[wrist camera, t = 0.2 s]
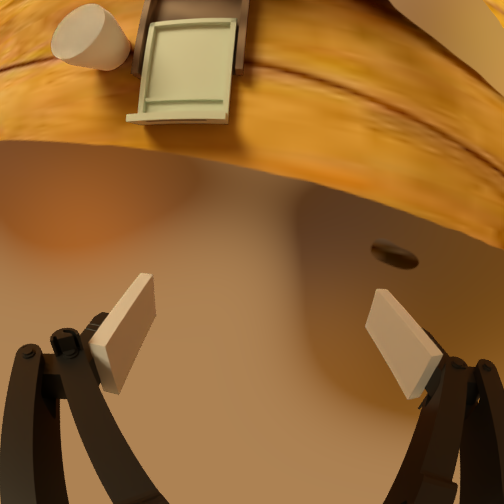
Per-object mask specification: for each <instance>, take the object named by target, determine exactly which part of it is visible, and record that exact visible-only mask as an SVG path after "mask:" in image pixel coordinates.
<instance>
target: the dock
mask: <svg viewBox="0 0 504 504" xmlns="http://www.w3.org/2000/svg"><path fill="white" fill-rule="evenodd" d="M249 3H250V0H145V2H144V6H143V10H142V15H141V19H140V24H139V28H138V33H137V38H136V44H135V49H134V55H133V62H132V68H131V74H132V75H134V76H135V77H137V78H141V76H142V69H143V62H144V55H145V49H146V43H147V37H148V32H149V27H150V23H153V22H161V21H170V20H181V19H196V18H237V30H236V40H235V50H234V60H233V71H232V75H243V67H244V55H245V44H246V33H247V23H248V13H249Z"/></svg>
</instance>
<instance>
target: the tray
mask: <svg viewBox="0 0 504 504" xmlns="http://www.w3.org/2000/svg"><path fill="white" fill-rule="evenodd" d="M236 30H237V18H196V19H181V20H170V21H161V22H153V23H150V27H149V32H148V37H147V43H146V49H145V55H144V62H143V69H142V76H141V84H140V93H139V103H138V113H135V114H126V122H130V123H134V124H138V125H156V124H228V120H229V107H230V94H231V82H232V71H233V60H234V50H235V40H236Z"/></svg>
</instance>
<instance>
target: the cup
mask: <svg viewBox="0 0 504 504" xmlns="http://www.w3.org/2000/svg"><path fill="white" fill-rule="evenodd" d="M51 50H52V53H53V55H54V56H55V57H57V58H59V59H61V60H63V61H65V62H66V63H68V64H71V65H75V66H81V67H87V68H93V69H98V70H103V71H109V70H113V69H115V68H117V67H119V66H120V65H121V64H122V63H123V62H124V61H125V60H126V59H127V57H128V55H129V53H130V42H129V40H128V39H127V37H126V36H125V34H124V32H123V31H122V29H121V28H120V26H119V24H118V23H117V21H116V20H115V18H114V17H113V15H112V14H111V13H110V12H108V11H106V10H105V9H104V8H102V7H101V6H99V5H97V4H86V5H83V6H80V7H78V8H76V9H75V10H73V11H72V12H70V13H69V14H68V15H67V16H66V17H65V18H64V19H63V20H62V21H61V22H60V24H59V25H58V27H57V28H56V30H55V32H54V34H53V37H52V41H51Z"/></svg>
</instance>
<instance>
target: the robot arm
mask: <svg viewBox="0 0 504 504" xmlns="http://www.w3.org/2000/svg"><path fill="white" fill-rule="evenodd" d="M155 317H156V309H155V296H154V283H153V274H146V273H140V274H139V276H138V277H137V278H136V280H135V281H134V282H133V283H132V285H131V286H130V287H129V288H128V290H127V291H126V292H125V294H124V295H123V296H122V297H121V299H120V300H119V302H118V303H117V304H116V305H115V307H114V308H113V309H112V311H111V312H110V313H105V312H102V313H100V314H98V315H97V316H95V317H94V318H93V319H92V321H91V322H90V324H89V325H88V326H87V327H86V329H85V330H84V331H83V332H82V333H81V335H79V333H78V331H77V330H75V329H72V328H62V329H60V330H57V331H56V332H54V333H53V334H52V336H51V338H50V342H51V345H52V348H53V350H54V353H55V354H43V353H42V351H41V348H40V347H39V346H38V345H36V344H27V345H24V346H22V347H21V348H19V349H18V351H17V353H16V356H15V360H14V364H13V368H12V372H11V377H10V381H9V386H8V391H7V397H6V403H5V409H4V416H3V424H2V434H1V448H0V495H1V504H69V501H68V497H67V490H66V484H65V478H64V471H63V462H62V451H61V437H60V399H67V400H68V403H69V406H70V409H71V412H72V415H73V418H74V421H75V424H76V426H77V429H78V432H79V434H80V437H81V439H82V442H83V444H84V446H85V449H86V451H87V453H88V456H89V458H90V460H91V462H92V464H93V466H94V469H95V471H96V473H97V475H98V476H99V479H100V480H101V482H102V484H103V486H104V488H105V490H106V492H107V494H108V495H109V497H110V499H111V500H112V502H113V504H169V503H168V501H167V500H166V499H165V498H164V497H163V495H162V494H161V493H160V492H159V491H158V490H157V488H156V487H155V486H154V484H153V483H152V481H151V480H150V478H149V477H148V475H147V474H146V472H145V471H144V470H143V468H142V466H141V465H140V463H139V462H138V460H137V459H136V457H135V455H134V454H133V452H132V450H131V449H130V447H129V445H128V444H127V442H126V440H125V438H124V436H123V435H122V433H121V431H120V429H119V428H118V426H117V424H116V422H115V420H114V418H113V416H112V414H111V412H110V410H109V408H108V406H107V404H106V402H105V399H104V398H103V395H102V393H101V391H100V389H99V384H100V383H101V384H102V387H103V390H104V391H106V392H110V393H114V394H118V395H119V394H120V392H121V389H122V387H123V385H124V383H125V380H126V378H127V376H128V373H129V371H130V369H131V367H132V365H133V363H134V361H135V358H136V356H137V354H138V352H139V350H140V348H141V346H142V343H143V341H144V339H145V337H146V335H147V333H148V331H149V329H150V327H151V325H152V323H153V321H154V319H155ZM365 328H366V329H367V330H368V332H369V334H370V336H371V337H372V339H373V341H374V342H375V344H376V346H377V347H378V349H379V351H380V352H381V354H382V356H383V357H384V359H385V361H386V362H387V364H388V366H389V367H390V369H391V371H392V373H393V374H394V376H395V378H396V380H397V382H398V383H399V385H400V387H401V389H402V390H403V392H404V394H405V396H406V398H407V399H413V398H417V397H420V395H421V394H422V392H423V390H424V389H426V391H427V392H428V394H427V396H426V397H425V398H424V400H423V402H422V403H421V405H420V406H419V408H418V409H420V408H421V407H422V409H421V412H420V416H419V419H418V422H417V425H416V429H415V431H414V434H413V437H412V440H411V442H410V445H409V448H408V450H407V453H406V456H405V458H404V460H403V463H402V465H401V467H400V470H399V472H398V474H397V476H396V479H395V481H394V483H393V485H392V487H391V489H390V491H389V493H388V495H387V497H386V499H385V501H384V503H383V504H453V503H454V500H455V496H456V493H457V488H458V485H457V484H456V483H454V482H452V478H453V474H454V470H455V466H456V462H457V457H458V453H459V448H460V504H504V389H503V386H502V383H501V380H500V377H499V374H498V372H497V369H496V367H495V365H494V364H493V363H492V362H491V361H489V360H485V359H481V360H479V361H478V363H477V365H476V367H468V366H467V364H466V363H465V362H464V361H463V360H462V359H460V358H458V357H449V355H448V354H447V353H446V352H445V351H444V349H443V348H442V347H441V346H440V345H439V344H438V342H437V341H436V340H435V339H434V337H433V336H432V335H431V334H430V333H429V332H428V331H426V330H425V329H423V328H421V327H420V326H419V325H418V324H417V322H416V321H415V320H414V319H413V318H412V317H411V316H410V314H409V313H408V312H407V311H406V310H405V309H404V308H403V306H401V304H400V303H399V302H398V301H397V300H396V299H395V298H394V297H393V295H392V294H391V293H390V292H389V291H388V290H387V289H376V292H375V296H374V300H373V303H372V306H371V309H370V313H369V316H368V319H367V322H366V325H365ZM479 398H480V400H479V403H478V399H479Z"/></svg>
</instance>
